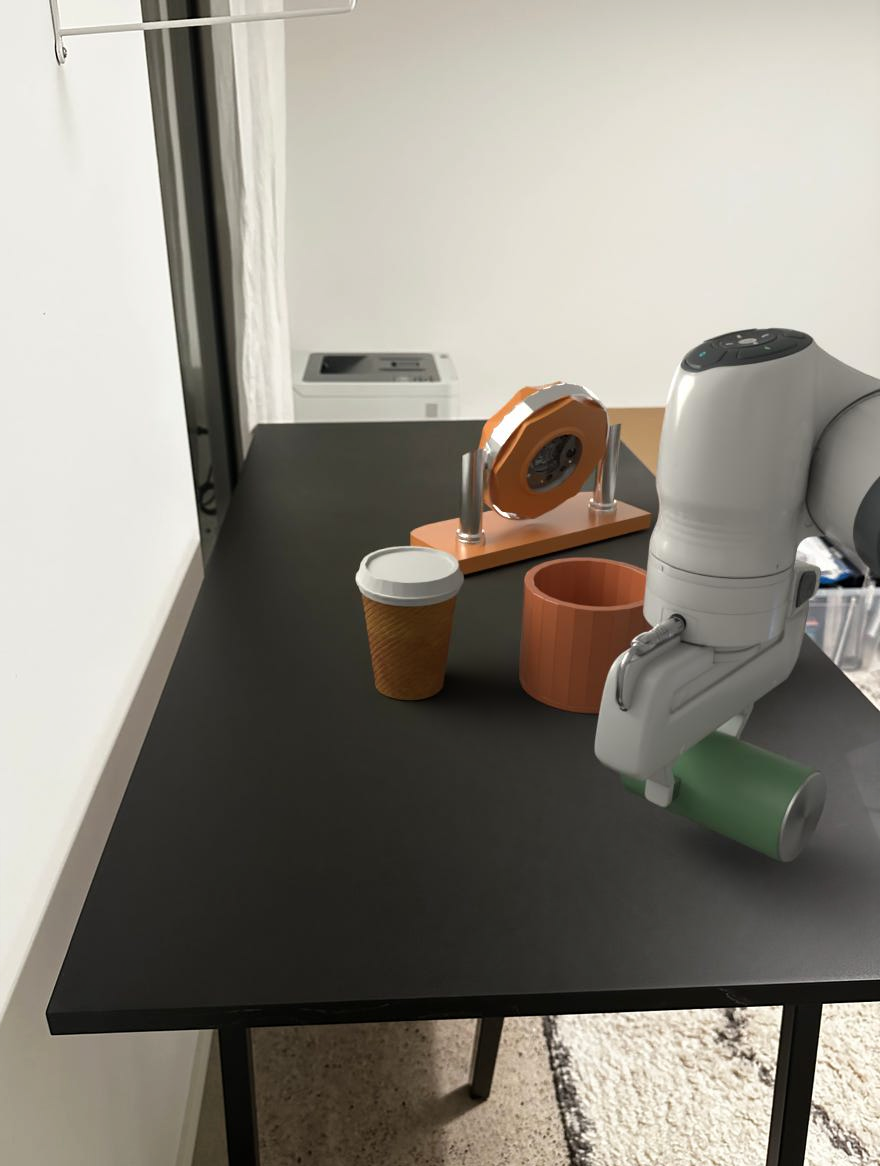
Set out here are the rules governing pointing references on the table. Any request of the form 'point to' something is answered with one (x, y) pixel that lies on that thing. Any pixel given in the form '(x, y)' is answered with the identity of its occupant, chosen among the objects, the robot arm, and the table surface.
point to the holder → (578, 628)
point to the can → (747, 795)
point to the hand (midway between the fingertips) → (692, 776)
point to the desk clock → (536, 482)
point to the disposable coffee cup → (409, 617)
